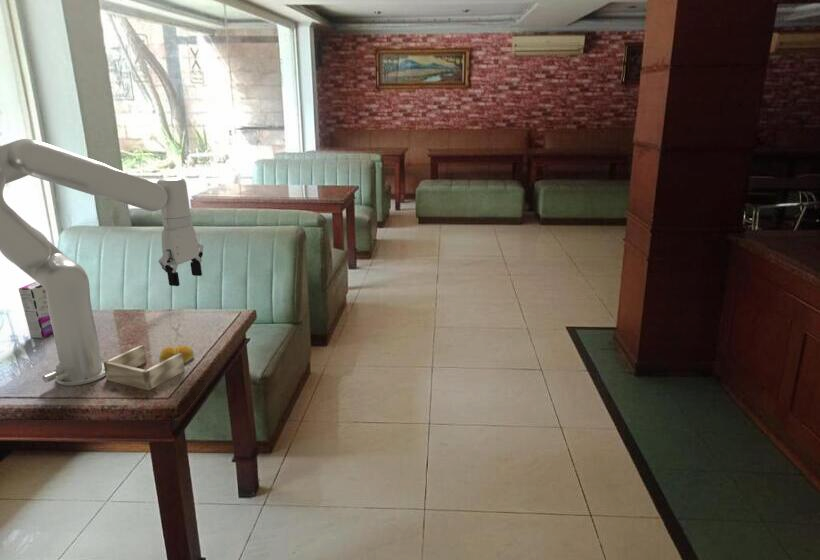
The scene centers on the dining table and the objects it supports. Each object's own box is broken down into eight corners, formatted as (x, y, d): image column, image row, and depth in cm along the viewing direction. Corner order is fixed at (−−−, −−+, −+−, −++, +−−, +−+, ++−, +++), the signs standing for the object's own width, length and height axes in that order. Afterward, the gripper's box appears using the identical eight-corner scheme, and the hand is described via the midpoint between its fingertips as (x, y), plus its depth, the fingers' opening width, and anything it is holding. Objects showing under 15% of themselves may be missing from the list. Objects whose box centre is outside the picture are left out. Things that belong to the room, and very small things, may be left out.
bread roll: (194, 363, 160) (192, 350, 159) (159, 368, 157) (157, 354, 156) (194, 351, 167) (193, 338, 166) (161, 356, 165) (159, 343, 164)
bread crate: (148, 390, 145) (145, 372, 143) (106, 379, 151) (103, 362, 149) (184, 370, 155) (182, 353, 154) (144, 361, 161) (141, 344, 160)
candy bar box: (56, 325, 189) (46, 277, 184) (69, 325, 188) (59, 277, 183) (29, 338, 178) (17, 287, 173) (43, 339, 177) (31, 288, 173)
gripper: (187, 215, 171) (195, 271, 176) (143, 228, 155) (154, 288, 161) (208, 216, 169) (215, 272, 174) (166, 229, 153) (176, 290, 158)
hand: (186, 280), depth 167 cm, fingers open, 9 cm apart
